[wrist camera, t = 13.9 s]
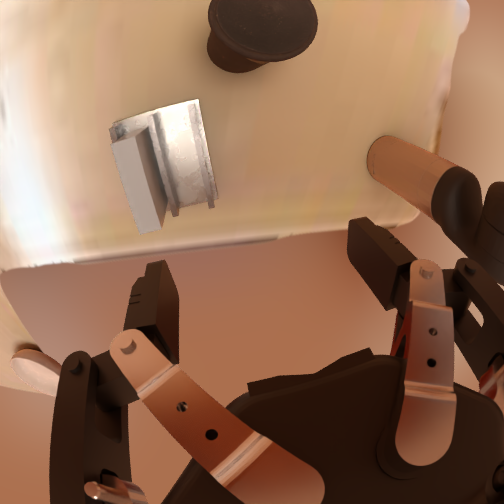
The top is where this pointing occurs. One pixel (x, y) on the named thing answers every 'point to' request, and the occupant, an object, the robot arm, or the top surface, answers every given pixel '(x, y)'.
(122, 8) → the top surface
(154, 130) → the dish rack
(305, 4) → the container
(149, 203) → the dish slab
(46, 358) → the serving bowl
